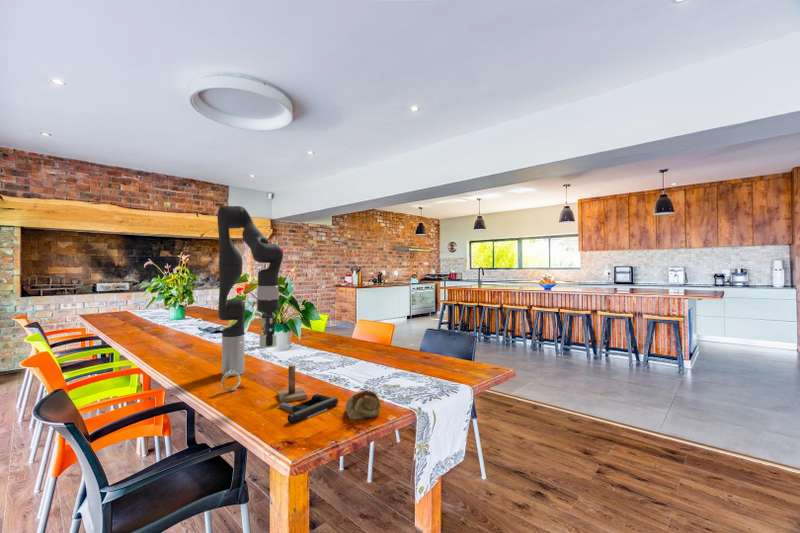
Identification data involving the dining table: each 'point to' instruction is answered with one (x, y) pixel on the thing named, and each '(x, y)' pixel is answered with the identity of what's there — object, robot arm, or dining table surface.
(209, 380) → the dining table surface
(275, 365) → the dining table surface
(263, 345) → the napkin ring
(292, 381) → the ring stand
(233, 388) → the bracelet
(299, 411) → the door handle
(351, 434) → the dining table surface
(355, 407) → the pastry
